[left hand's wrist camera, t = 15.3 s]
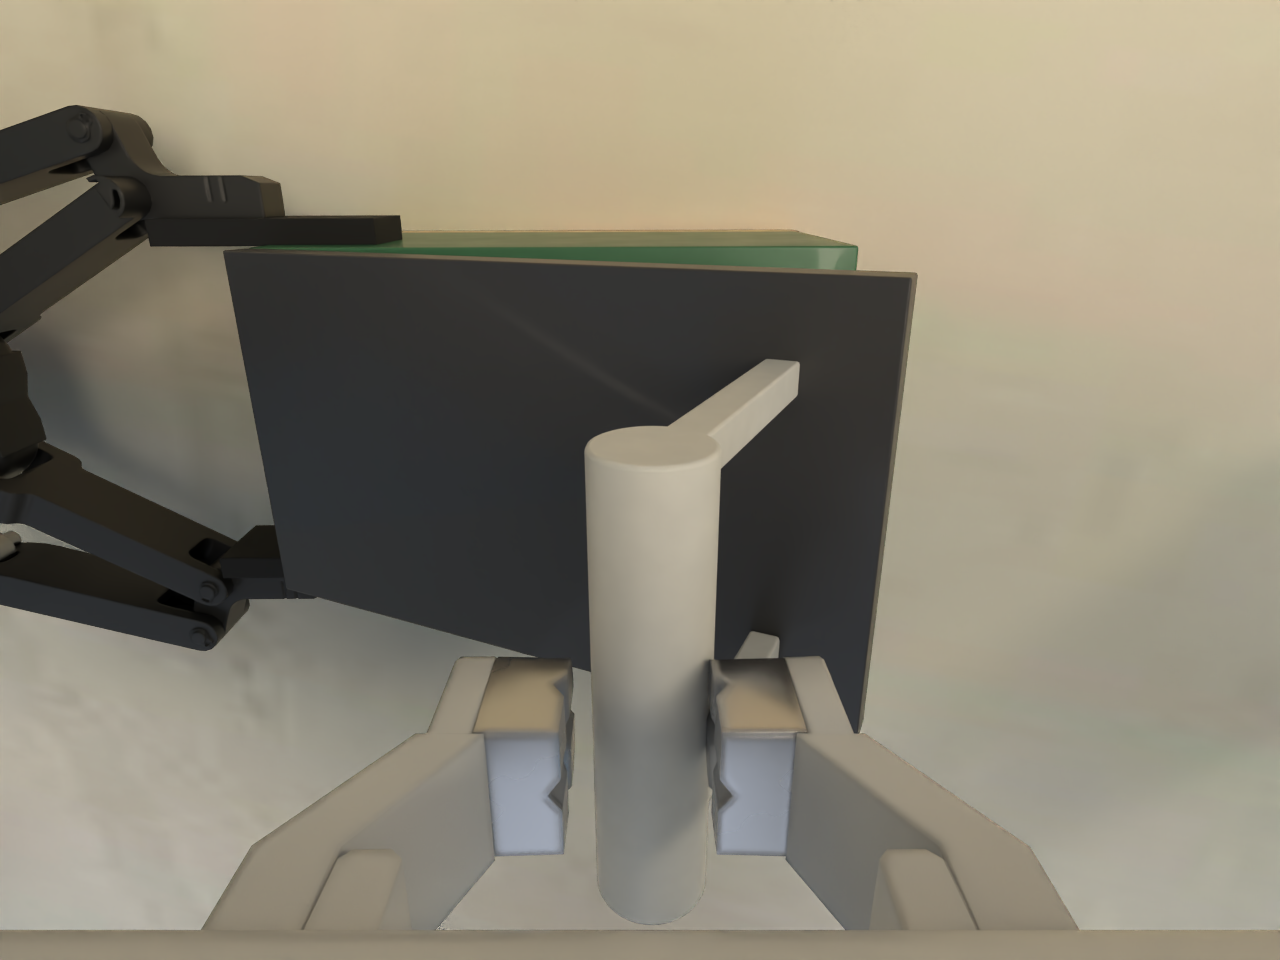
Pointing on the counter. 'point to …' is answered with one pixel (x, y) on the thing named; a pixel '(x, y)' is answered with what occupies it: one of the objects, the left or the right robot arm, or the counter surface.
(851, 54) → the counter surface
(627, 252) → the chest
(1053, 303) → the counter surface
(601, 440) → the lid
